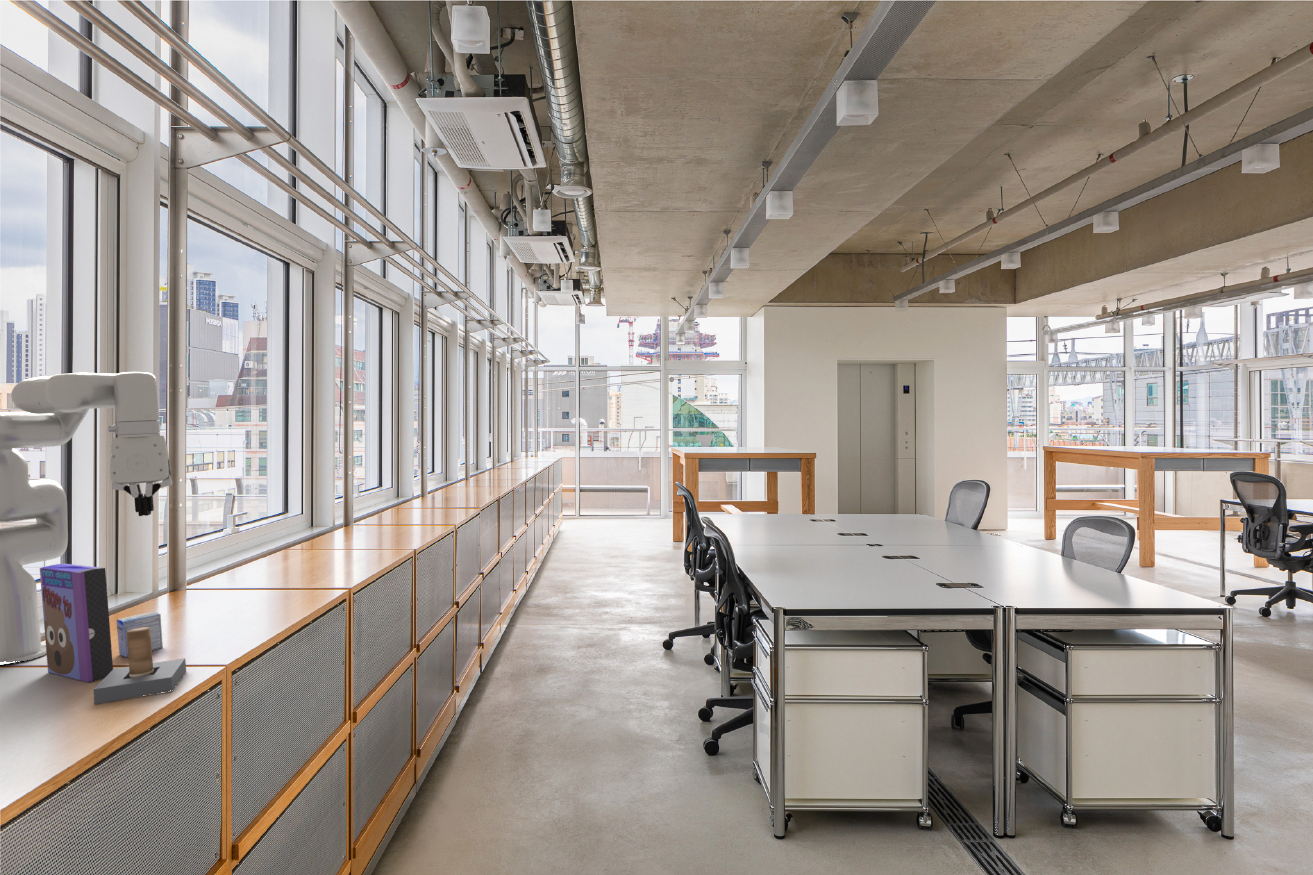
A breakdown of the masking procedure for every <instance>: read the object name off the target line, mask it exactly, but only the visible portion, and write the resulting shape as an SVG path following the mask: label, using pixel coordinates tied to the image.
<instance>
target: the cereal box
mask: <svg viewBox="0 0 1313 875" xmlns="http://www.w3.org/2000/svg"><path fill="white" fill-rule="evenodd" d="M39 577H40V589H41V590H40V591H41V600H42V601H41V602H42V614H43V624H44V626H43V627H44V628H43V629H44V639H45V645H46V653H47V654H46V663H47V672H48V674H50V675H54V676H59V677H61V678H62V677H63V678H65V679H71V680H74V681H78V682H82V683H86V684H91V683H94V682H97V681H102V680H103V679H104V678H105V677H106V676H107V675H108V674H109V673H110V672H111V671H112V670H113V669H114V665H113V662H114V661H113V651H112V650H113V649H112V640H111V639H112V638H111V623H110V612H109V610H110V609H109V599H108V586H107V572H106V567H99V566H89V565H81V564H71V563H56V564H49V565H46V566H42V567H39Z"/></svg>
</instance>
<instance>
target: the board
mask: <svg viewBox="0 0 1313 875" xmlns="http://www.w3.org/2000/svg"><path fill="white" fill-rule="evenodd" d="M186 664H187V662H186V658H185V657H184V658H177V659H171V660H170V659H169V660H164V661H163V660H162V661H158V662H153V669H154V675H148V676H142V677H135V678H130V676H129V673H130V672H129V666H124V667H117V668H113V670H112V671H111V672H110V673H109V674H108V675H107V676H106V677H105V678H104V679H101V680H100V682H99V683H98V684H97V685H96V686H95V687H94V688H93V702H94V705H98V704H105V703H111V702H118V701H124V700H130V699H135V698H134V697H137V698H142V697H141V696H143V695H149V694H155V695H158V694H157V693H161V692H167V693H169V692H168V691H170V690H171V691H172V690H173V689H174V688H175V689H176V687H177V686H178V684H179V683H180V682H181V680H182V679H181V678H183V677H184V676H185V674H186V673H187V665H186ZM185 672H186V673H185ZM183 675H184V676H183ZM180 679H181V680H180ZM178 682H179V683H178ZM177 683H178V684H177ZM176 685H177V686H176ZM175 686H176V687H175ZM175 689H174V690H175ZM174 690H173V691H174ZM161 694H162V693H161ZM149 696H150V695H149ZM143 697H144V696H143Z"/></svg>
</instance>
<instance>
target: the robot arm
mask: <svg viewBox="0 0 1313 875" xmlns="http://www.w3.org/2000/svg"><path fill="white" fill-rule="evenodd" d="M10 396H11V400H12V402H13V404H14V405H15V406H16V407H17V408H18V409H20V410H21V411H13V412H12V411H11V412H5V411H4V412H0V523H1V524H2V523H13V522H21V521H26V520H34V519H35V521H36V523H31V524H24V525H16V526H15V525H13V526H8V527H1V528H0V662H4V661H6V662H13V661H15V662H16V661H17V662H18V661H24V662H27V660H28V661H32V660H35V659H37V658H41V657H43V656H45V655H47V653H46V644H42V642H41V641H42V632H41V629H40V628H41V626H40V616H39V614H40V613H39V605H38V604H39V603H38V602H39V601H38V592H37V590H38V589H37V582H36V580H35V578H34V577H33V575H32V574H30V573H29V572H28V571H27V570H26V569H25V568H24V567H23V566H25V565H29V564H34V563H39V562H45V561H50V560H54V559H57V558H60V557H61V556H62V555H64V554H65V553H66V550H67V548H68V542H69V540H68V539H69V532H68V531H69V530H68V528H69V527H68V500H67V494H66V491H65V490H64V488H63V487H62V484H60V483H59V482H58V481H56V480H52V479H45V478H42V479H33V480H32V479H31V480H30V479H29V464H28V461H27V460H26V457H25V456H23V455H22V453H21V452H20V451H19V450H17V449H22V448H28V449H29V448H45V447H46V448H47V447H48V448H49V447H59V446H62V445H65V444H67V443H68V442H69V441H70V440H71V439H72V438H73V437H74V435H75V434H76V432H77V430H78V428H79V427H80V426H81V423H82V422H83V420H84V418H85V417H86V415H87V414H88V412H89V410H90V409H91V410H92V409H114V411H115V421H116V422H115V424H112V425H109V426H107V427H108V433H113V434H114V433H115V434H116V435H117V437H112V439H111V446H110V463H109V465H110V466H109V467H110V468H109V470H110V480H111V483H112V485H111V489H112V490H116V491H125V492H126V493H127V494H129V495H130V496H132V498H133V499H134V508H135V509H134V510H135V513H137V514H138V516H139V517H143V516H149V515H152V512H154V511H155V510H154V509H155V508H154V495H155V494H156V493H158V491H159V490H161V489H162V488H165V487H169V486H172V485H173V480H172V477H171V475H172V467H171V461H170V455H169V450H168V445H167V441H166V439H165V436H164V435H161V427H160V415H159V413H160V412H159V401H158V386H157V379H156V376H155V375H154V374H152V373H150V372H144V371H143V372H142V371H126V372H119V373H100V372H99V373H98V372H97V373H96V372H73V373H58V374H53V375H48V376H35V377H30V378H26V379H24V380H21V381H20V382H18V383H17V384H15V385H14V386H13V388H12V390H11V393H10ZM144 483H145V488H144V489H145V492H144V494H143V493H142V488H141V484H144ZM34 658H35V659H34Z"/></svg>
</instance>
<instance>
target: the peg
mask: <svg viewBox="0 0 1313 875" xmlns="http://www.w3.org/2000/svg"><path fill="white" fill-rule="evenodd" d="M127 646H128V667H129V672H130V673H129V676H130V678H135V677H142V676H148V675H154V669H153V663H154V662H153V650H152V647H151V633H150V628H149V627H142V628H136V629H132V630H129V631H127Z"/></svg>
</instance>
